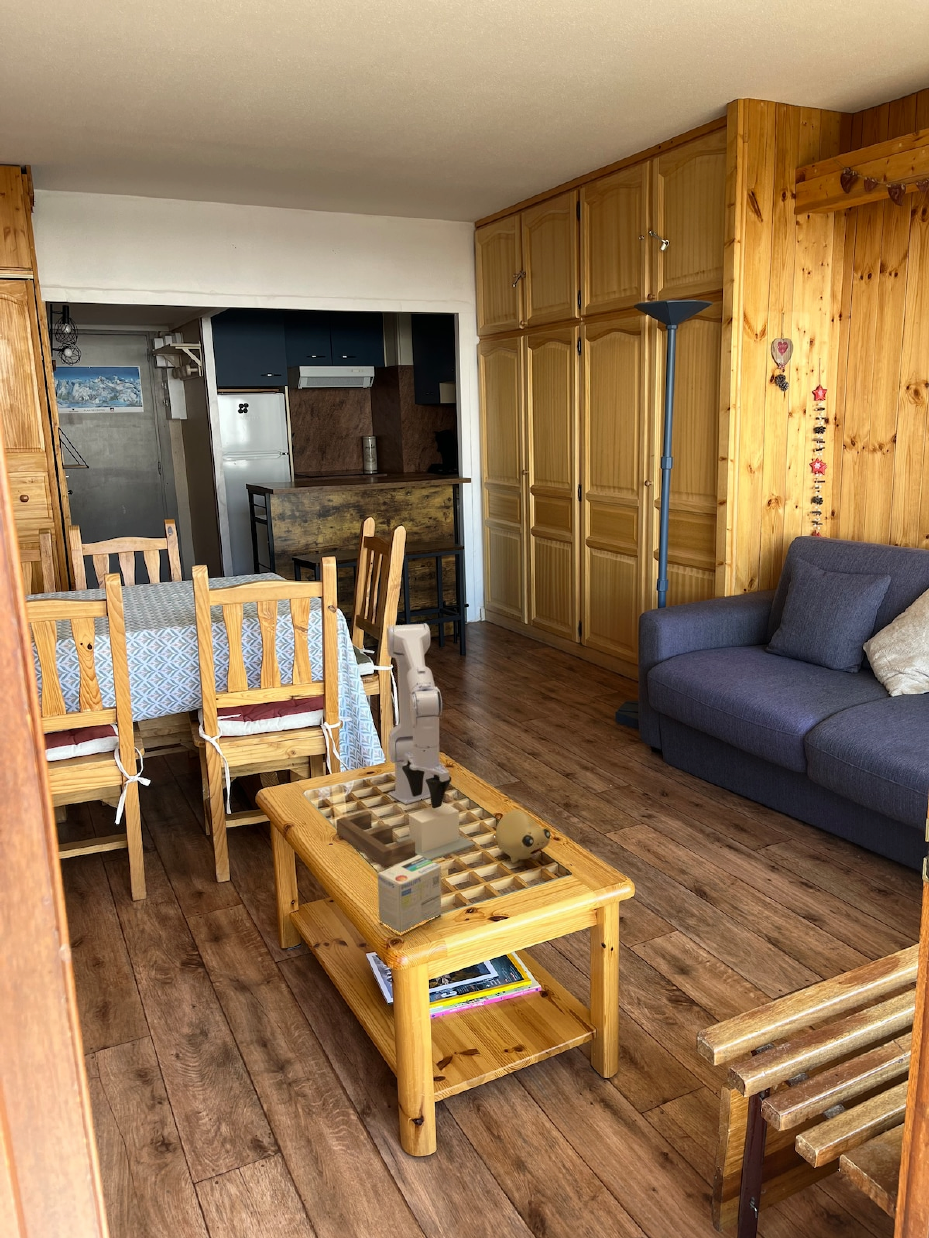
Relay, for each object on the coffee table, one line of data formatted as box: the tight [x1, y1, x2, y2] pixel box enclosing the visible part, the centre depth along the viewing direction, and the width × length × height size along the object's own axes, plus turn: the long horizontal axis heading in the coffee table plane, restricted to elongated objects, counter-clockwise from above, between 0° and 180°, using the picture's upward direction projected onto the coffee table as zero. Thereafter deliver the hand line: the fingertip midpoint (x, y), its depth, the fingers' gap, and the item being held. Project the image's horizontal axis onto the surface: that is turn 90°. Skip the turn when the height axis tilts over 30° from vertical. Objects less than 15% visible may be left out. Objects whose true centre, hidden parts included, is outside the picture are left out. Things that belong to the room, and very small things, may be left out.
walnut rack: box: [336, 810, 416, 868], centre depth 211 cm, size 8×20×4 cm, turn 37°
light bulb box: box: [377, 855, 442, 933], centre depth 180 cm, size 11×7×11 cm, turn 134°
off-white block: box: [408, 803, 460, 852], centre depth 211 cm, size 10×5×7 cm, turn 127°
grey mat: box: [395, 833, 476, 862], centre depth 212 cm, size 13×12×1 cm
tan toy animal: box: [495, 808, 552, 863], centre depth 204 cm, size 10×12×11 cm
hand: (426, 800), depth 212 cm, fingers open, 7 cm apart
